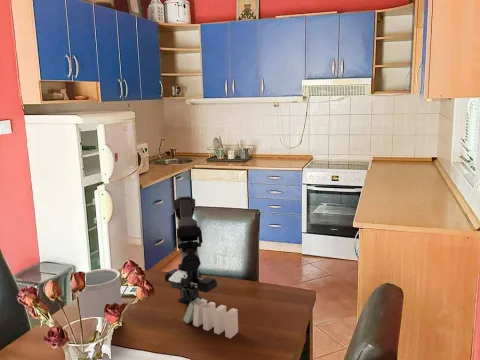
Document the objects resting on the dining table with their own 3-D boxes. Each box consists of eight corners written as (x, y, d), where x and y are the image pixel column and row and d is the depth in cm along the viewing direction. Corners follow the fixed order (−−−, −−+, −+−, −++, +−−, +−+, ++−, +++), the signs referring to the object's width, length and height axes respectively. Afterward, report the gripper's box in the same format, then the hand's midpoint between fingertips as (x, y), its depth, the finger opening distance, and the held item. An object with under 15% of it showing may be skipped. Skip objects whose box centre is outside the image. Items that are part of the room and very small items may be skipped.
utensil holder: (70, 326, 149) (65, 278, 146) (107, 310, 160) (104, 264, 157) (94, 341, 139) (89, 289, 136) (132, 322, 151) (129, 274, 147)
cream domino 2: (203, 329, 145) (202, 306, 144) (211, 323, 149) (210, 301, 147) (208, 330, 144) (207, 308, 142) (216, 325, 147) (215, 302, 146)
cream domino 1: (192, 324, 147) (194, 303, 145) (201, 319, 151) (202, 298, 149) (197, 327, 146) (199, 305, 144) (205, 321, 150) (207, 300, 148)
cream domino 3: (214, 332, 142) (213, 310, 141) (222, 326, 146) (221, 304, 145) (219, 334, 141) (218, 311, 140) (226, 328, 145) (226, 306, 144)
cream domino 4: (225, 336, 140) (224, 313, 139) (233, 330, 144) (232, 308, 142) (230, 338, 139) (229, 315, 137) (238, 332, 142) (237, 309, 141)
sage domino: (183, 319, 150) (189, 302, 146) (191, 314, 153) (198, 297, 150) (187, 323, 149) (194, 306, 146) (195, 318, 152) (202, 301, 149)
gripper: (152, 262, 145) (155, 306, 148) (195, 273, 135) (197, 320, 137) (174, 252, 154) (177, 294, 157) (217, 262, 144) (218, 306, 147)
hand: (191, 303), depth 149 cm, fingers closed
